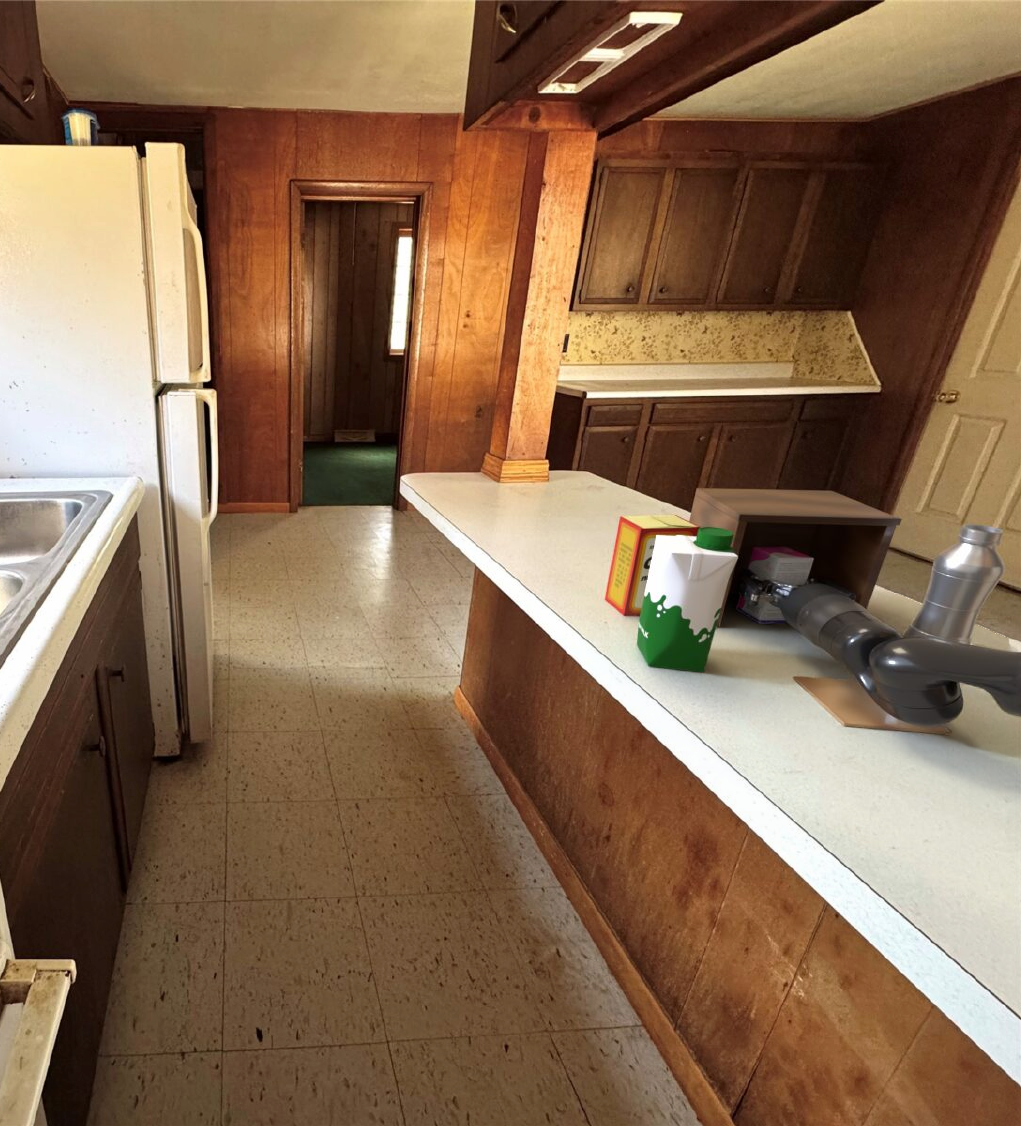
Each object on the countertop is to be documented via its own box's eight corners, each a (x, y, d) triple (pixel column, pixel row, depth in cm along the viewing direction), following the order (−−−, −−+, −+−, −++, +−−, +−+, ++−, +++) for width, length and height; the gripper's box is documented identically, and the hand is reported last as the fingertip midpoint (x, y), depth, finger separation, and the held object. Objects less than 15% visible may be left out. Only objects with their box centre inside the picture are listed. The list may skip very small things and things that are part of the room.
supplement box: (795, 623, 101) (815, 557, 97) (758, 624, 101) (777, 558, 97) (769, 607, 106) (787, 545, 102) (734, 608, 106) (751, 546, 102)
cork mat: (885, 684, 84) (886, 682, 84) (950, 734, 74) (951, 732, 74) (792, 678, 86) (793, 675, 86) (843, 725, 76) (844, 723, 76)
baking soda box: (623, 615, 105) (641, 526, 99) (604, 599, 111) (620, 514, 105) (679, 614, 105) (701, 524, 99) (657, 598, 111) (676, 512, 105)
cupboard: (859, 636, 96) (902, 518, 89) (710, 627, 100) (739, 514, 93) (800, 594, 111) (833, 490, 104) (672, 588, 115) (695, 487, 108)
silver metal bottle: (897, 643, 94) (946, 517, 87) (962, 658, 89) (1019, 527, 82) (894, 659, 90) (946, 528, 82) (962, 676, 85) (1023, 540, 78)
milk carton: (713, 676, 87) (749, 543, 80) (641, 668, 90) (669, 538, 82) (693, 647, 95) (724, 522, 87) (627, 640, 97) (652, 519, 90)
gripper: (764, 638, 91) (713, 592, 106) (879, 646, 88) (809, 597, 103) (778, 592, 88) (724, 551, 103) (897, 598, 85) (823, 555, 101)
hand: (767, 574), depth 103 cm, fingers closed on supplement box, 6 cm apart
